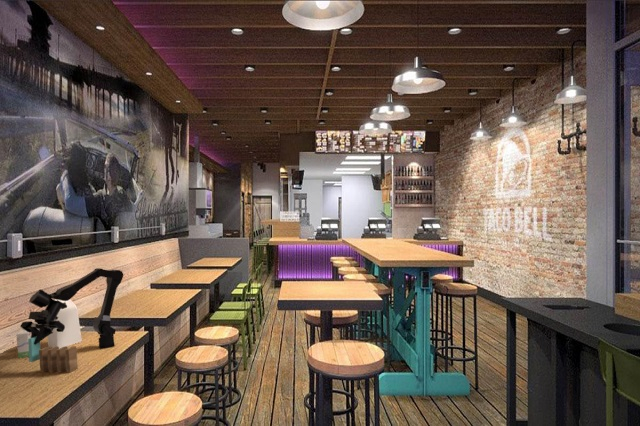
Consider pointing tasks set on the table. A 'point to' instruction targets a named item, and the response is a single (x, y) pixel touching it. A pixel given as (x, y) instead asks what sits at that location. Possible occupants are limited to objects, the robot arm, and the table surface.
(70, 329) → the milk
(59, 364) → the domino
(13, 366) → the table surface
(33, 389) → the table surface
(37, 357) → the domino
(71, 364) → the domino
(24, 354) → the ink box
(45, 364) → the domino
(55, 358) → the domino
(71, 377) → the table surface
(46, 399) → the table surface
